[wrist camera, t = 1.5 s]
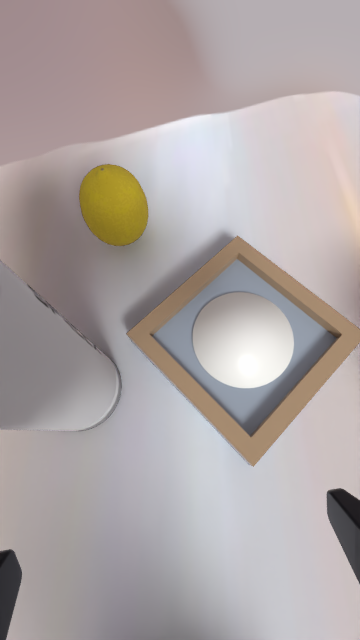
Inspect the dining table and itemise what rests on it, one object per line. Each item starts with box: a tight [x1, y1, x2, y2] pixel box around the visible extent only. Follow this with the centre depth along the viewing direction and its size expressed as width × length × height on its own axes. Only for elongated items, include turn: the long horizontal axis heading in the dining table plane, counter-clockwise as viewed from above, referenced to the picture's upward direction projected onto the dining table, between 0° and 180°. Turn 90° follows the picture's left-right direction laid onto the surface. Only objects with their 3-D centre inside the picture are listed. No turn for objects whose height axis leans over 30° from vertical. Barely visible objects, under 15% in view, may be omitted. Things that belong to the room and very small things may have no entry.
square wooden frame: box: [126, 236, 360, 467], centre depth 23 cm, size 13×13×2 cm
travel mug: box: [0, 260, 122, 431], centre depth 14 cm, size 6×7×20 cm
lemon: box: [79, 164, 148, 246], centre depth 25 cm, size 6×6×8 cm
